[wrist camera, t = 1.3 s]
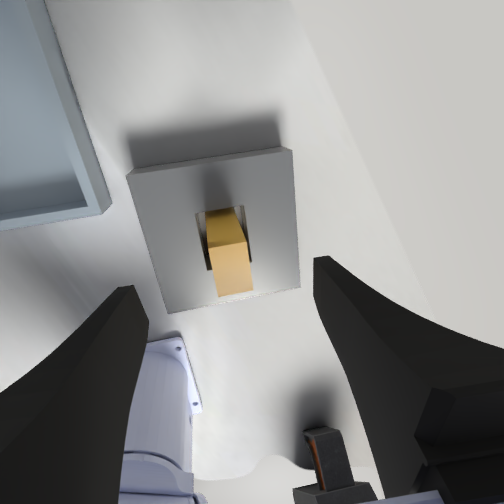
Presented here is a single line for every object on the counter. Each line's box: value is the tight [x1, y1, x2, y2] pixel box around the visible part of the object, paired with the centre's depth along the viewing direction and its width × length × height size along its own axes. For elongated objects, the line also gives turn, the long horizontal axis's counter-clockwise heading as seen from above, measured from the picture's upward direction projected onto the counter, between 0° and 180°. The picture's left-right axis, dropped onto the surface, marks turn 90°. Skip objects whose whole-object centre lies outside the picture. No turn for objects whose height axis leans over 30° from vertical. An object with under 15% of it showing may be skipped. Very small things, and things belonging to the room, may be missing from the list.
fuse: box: [205, 207, 253, 297], centre depth 19 cm, size 3×2×7 cm, turn 8°
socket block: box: [126, 146, 301, 314], centre depth 21 cm, size 10×10×2 cm
